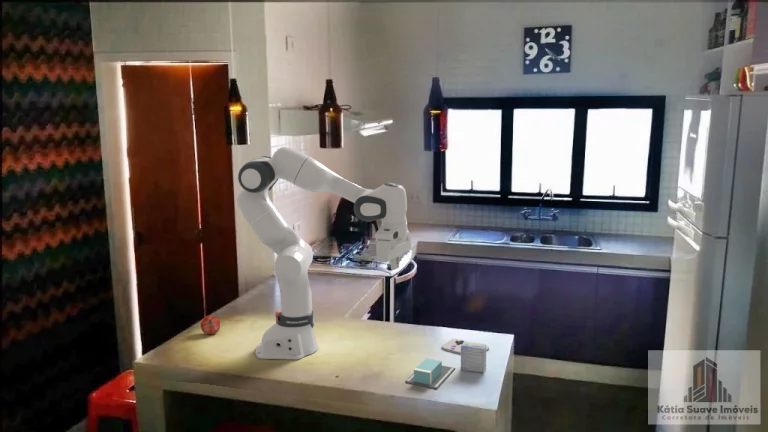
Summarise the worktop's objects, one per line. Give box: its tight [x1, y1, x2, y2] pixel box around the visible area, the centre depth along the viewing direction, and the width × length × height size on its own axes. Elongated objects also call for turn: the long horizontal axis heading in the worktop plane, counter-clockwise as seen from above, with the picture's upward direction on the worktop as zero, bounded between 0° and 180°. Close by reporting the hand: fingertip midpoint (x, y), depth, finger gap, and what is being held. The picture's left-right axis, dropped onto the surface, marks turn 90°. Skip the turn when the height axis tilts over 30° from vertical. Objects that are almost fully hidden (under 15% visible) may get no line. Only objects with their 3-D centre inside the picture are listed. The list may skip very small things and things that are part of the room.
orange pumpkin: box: [199, 315, 221, 335], centre depth 239 cm, size 7×7×10 cm
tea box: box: [413, 357, 443, 385], centre depth 197 cm, size 4×6×10 cm
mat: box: [404, 365, 456, 390], centre depth 199 cm, size 16×11×1 cm
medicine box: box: [460, 341, 487, 374], centre depth 203 cm, size 8×4×9 cm, turn 71°
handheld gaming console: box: [441, 338, 490, 355], centre depth 220 cm, size 10×2×15 cm
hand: (395, 268), depth 212 cm, fingers closed
